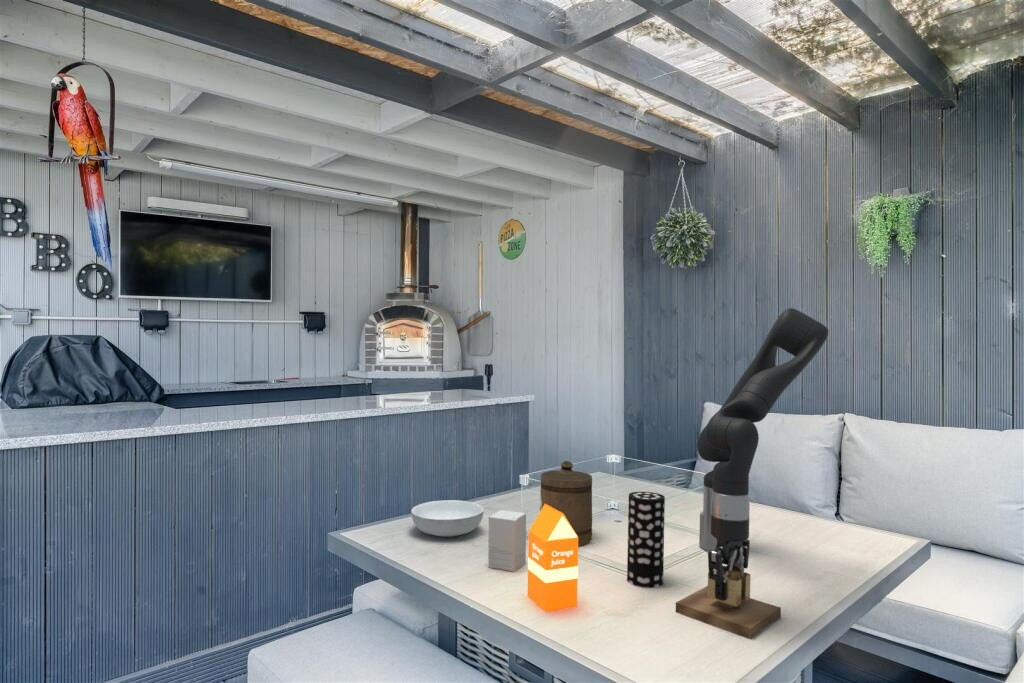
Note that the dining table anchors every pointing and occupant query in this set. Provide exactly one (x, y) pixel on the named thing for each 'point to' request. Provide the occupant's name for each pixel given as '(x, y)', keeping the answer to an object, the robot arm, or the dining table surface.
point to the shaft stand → (729, 613)
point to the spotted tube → (645, 539)
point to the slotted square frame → (733, 588)
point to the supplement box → (507, 540)
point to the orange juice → (552, 561)
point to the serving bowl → (447, 517)
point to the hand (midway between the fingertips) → (728, 594)
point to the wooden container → (570, 498)
